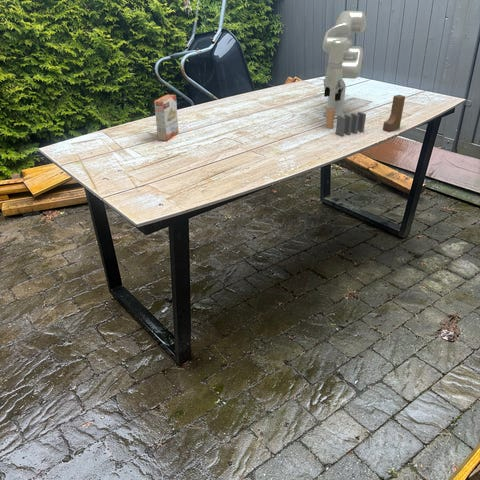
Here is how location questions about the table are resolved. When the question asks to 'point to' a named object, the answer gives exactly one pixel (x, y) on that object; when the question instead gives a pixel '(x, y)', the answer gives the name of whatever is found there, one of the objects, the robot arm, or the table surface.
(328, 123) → the domino
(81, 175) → the table surface
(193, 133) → the table surface
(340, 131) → the domino
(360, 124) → the domino
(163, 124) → the cracker box
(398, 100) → the wooden block
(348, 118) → the domino
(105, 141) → the table surface
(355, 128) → the domino
